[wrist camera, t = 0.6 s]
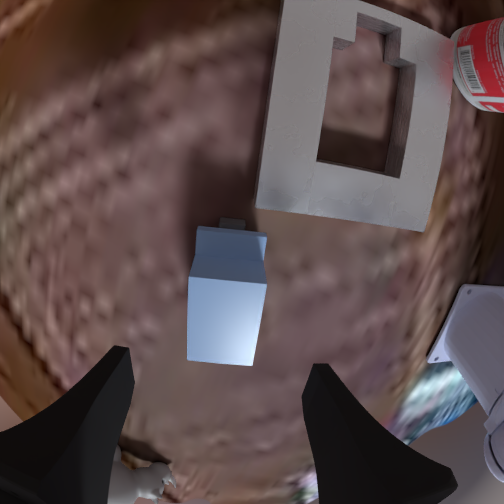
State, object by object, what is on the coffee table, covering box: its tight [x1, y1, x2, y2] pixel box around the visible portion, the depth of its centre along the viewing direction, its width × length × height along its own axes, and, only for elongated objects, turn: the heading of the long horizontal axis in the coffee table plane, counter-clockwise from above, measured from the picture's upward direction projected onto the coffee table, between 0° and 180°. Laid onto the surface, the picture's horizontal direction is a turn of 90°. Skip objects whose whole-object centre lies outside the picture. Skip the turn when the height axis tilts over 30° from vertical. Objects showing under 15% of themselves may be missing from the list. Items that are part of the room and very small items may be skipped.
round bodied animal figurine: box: [108, 445, 176, 504], centre depth 25 cm, size 7×12×8 cm, turn 67°
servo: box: [187, 217, 267, 366], centre depth 17 cm, size 8×3×5 cm, turn 173°
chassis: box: [253, 0, 454, 232], centre depth 14 cm, size 10×12×2 cm
